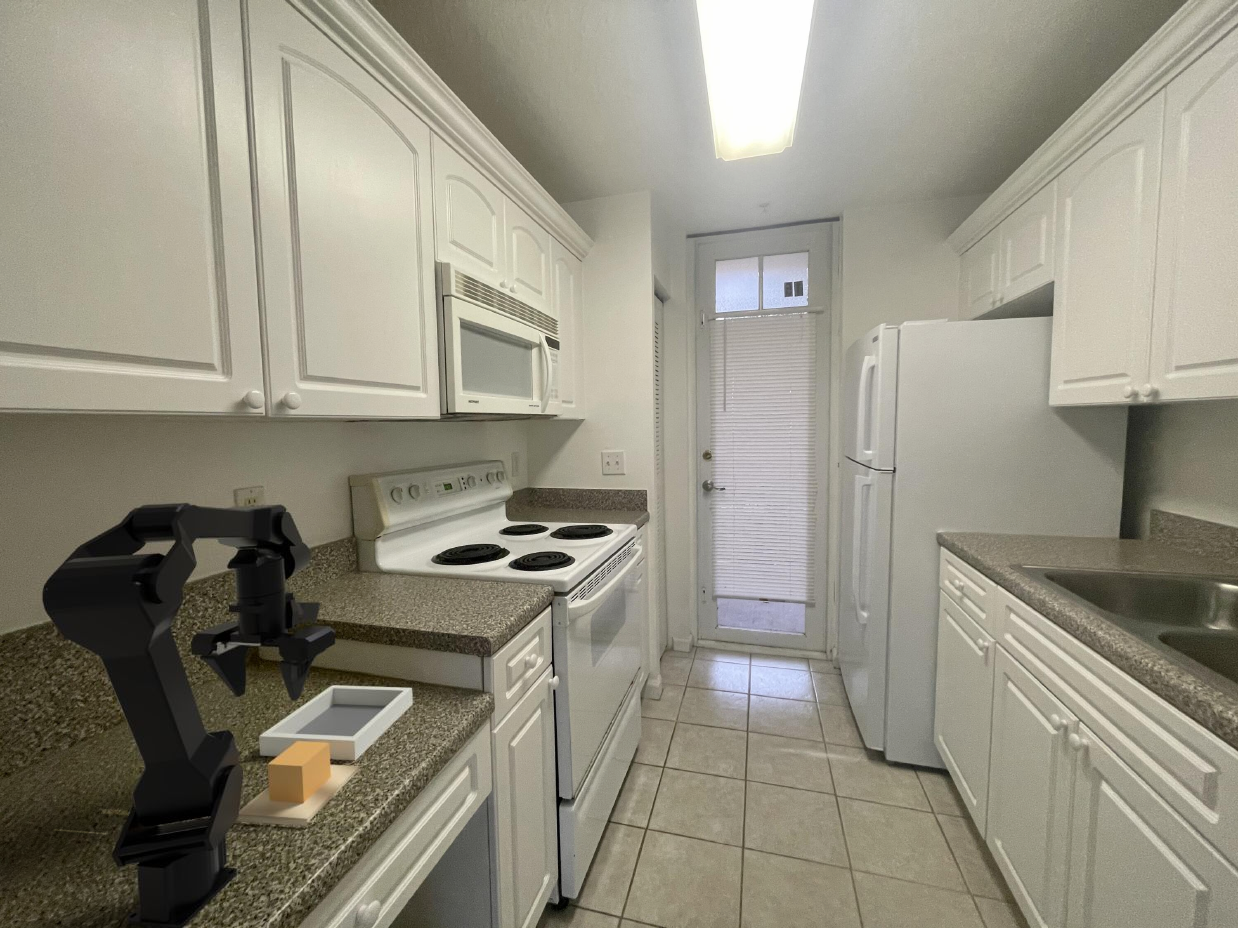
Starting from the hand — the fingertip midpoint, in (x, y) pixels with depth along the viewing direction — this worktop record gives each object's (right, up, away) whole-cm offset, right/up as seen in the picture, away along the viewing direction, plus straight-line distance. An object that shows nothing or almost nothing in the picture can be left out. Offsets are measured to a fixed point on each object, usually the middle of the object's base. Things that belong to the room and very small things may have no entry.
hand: (267, 697), depth 69 cm
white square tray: (+4, -12, +12) cm, 17 cm away
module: (+7, -11, -3) cm, 13 cm away
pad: (+7, -12, -3) cm, 14 cm away
